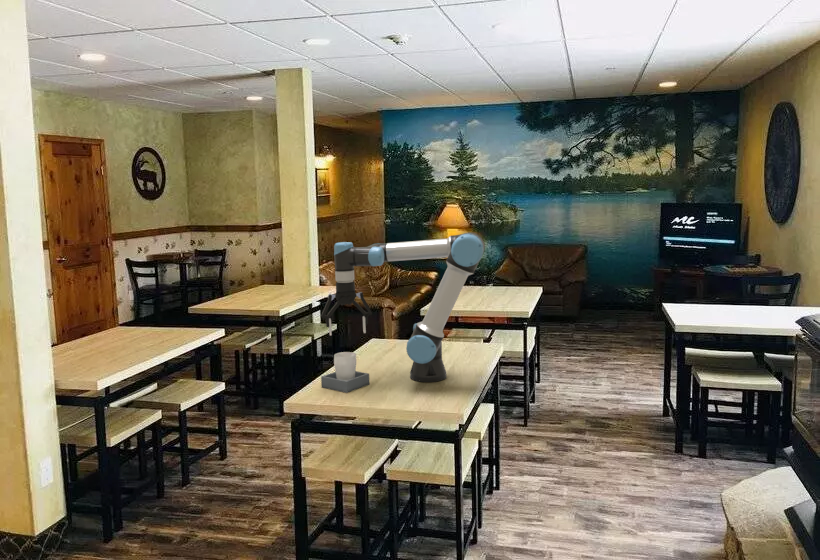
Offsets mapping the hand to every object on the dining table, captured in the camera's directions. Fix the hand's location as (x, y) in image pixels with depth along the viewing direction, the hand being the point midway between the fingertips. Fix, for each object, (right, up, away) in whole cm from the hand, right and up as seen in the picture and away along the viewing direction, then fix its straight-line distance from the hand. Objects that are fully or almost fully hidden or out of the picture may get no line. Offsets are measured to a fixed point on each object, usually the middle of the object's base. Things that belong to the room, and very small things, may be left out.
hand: (347, 333), depth 271 cm
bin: (-1, -21, +1) cm, 21 cm away
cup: (-1, -20, +2) cm, 20 cm away
